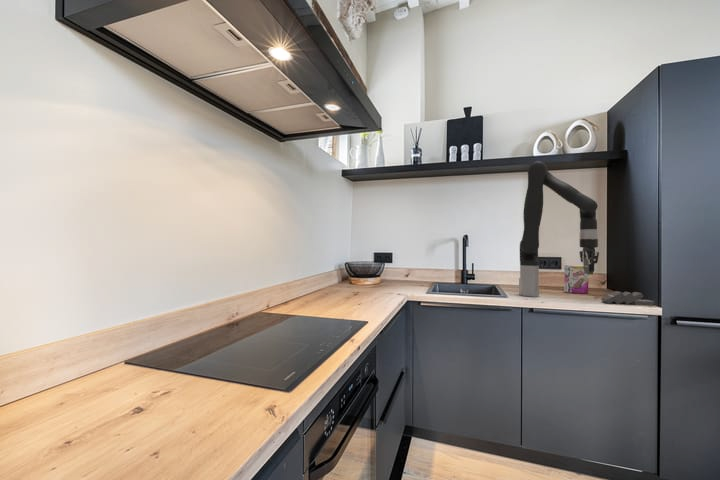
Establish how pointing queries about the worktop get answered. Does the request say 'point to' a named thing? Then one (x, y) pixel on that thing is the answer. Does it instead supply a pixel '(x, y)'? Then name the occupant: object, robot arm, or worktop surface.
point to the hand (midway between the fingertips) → (588, 270)
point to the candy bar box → (575, 279)
